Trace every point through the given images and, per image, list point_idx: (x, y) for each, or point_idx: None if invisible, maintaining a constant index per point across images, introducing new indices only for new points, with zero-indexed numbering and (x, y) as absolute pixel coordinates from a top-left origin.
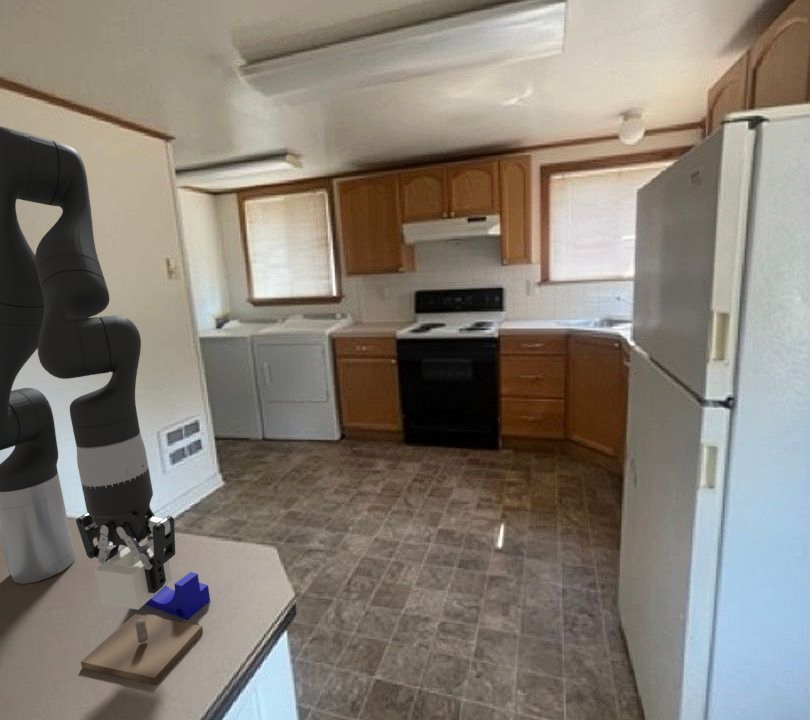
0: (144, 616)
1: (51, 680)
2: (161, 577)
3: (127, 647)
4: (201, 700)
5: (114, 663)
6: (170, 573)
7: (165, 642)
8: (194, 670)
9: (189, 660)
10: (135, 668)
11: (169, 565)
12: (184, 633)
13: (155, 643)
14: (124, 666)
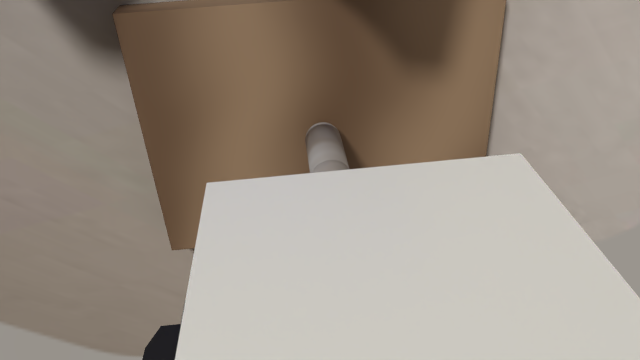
0: (179, 14)
1: (132, 284)
2: None
3: (276, 164)
4: (637, 201)
5: None
6: (544, 186)
7: (408, 106)
8: (563, 134)
9: (522, 108)
10: None
11: (580, 226)
12: (455, 45)
13: (371, 121)
14: None
